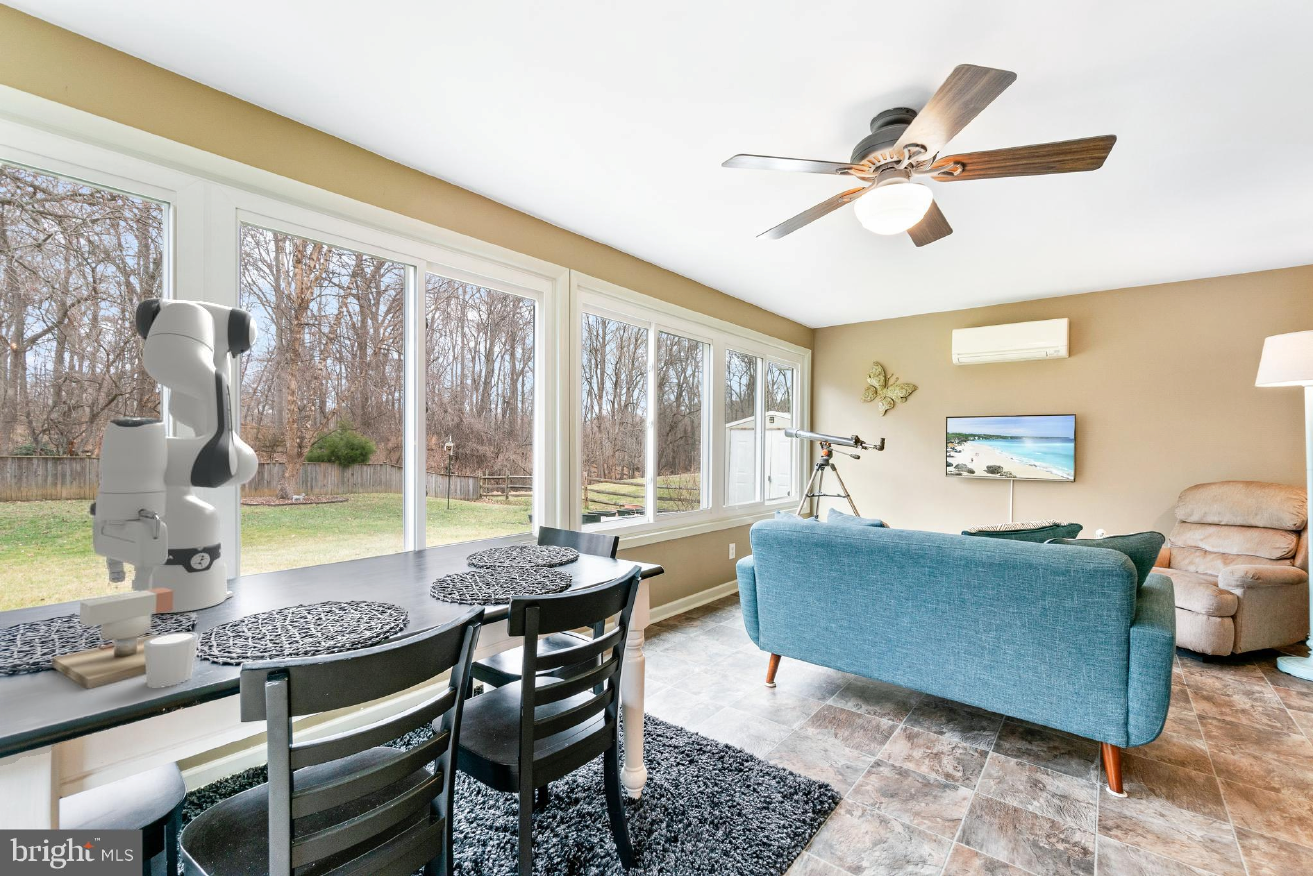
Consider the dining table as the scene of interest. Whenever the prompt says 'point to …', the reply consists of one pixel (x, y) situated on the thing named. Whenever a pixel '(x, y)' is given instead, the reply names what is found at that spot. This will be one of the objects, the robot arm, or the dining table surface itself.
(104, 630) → the orange-ended white bar
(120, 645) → the post
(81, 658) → the base plate
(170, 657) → the white tapered cup
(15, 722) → the dining table surface
